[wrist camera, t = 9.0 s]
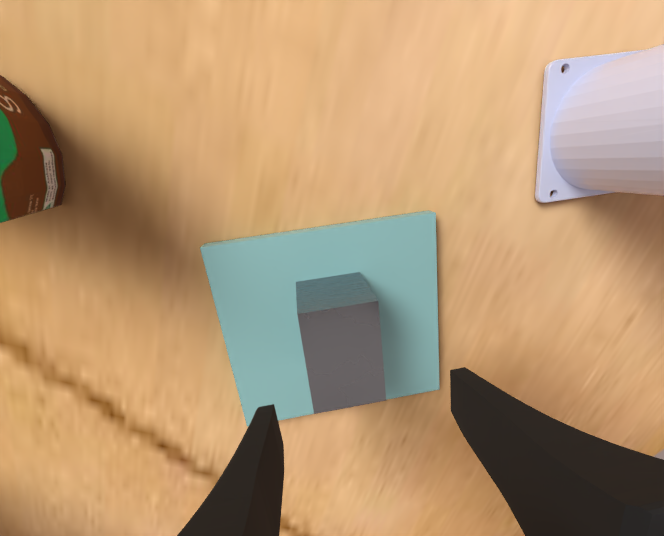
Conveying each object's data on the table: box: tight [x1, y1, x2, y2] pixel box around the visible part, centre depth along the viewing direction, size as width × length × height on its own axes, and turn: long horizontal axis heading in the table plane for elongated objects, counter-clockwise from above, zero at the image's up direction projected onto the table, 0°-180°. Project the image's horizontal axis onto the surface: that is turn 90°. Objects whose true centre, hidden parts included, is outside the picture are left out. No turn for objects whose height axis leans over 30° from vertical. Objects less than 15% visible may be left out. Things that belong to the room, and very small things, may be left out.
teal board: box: [200, 211, 439, 426], centre depth 21 cm, size 14×13×1 cm
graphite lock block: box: [296, 272, 386, 414], centre depth 19 cm, size 4×6×4 cm, turn 7°
